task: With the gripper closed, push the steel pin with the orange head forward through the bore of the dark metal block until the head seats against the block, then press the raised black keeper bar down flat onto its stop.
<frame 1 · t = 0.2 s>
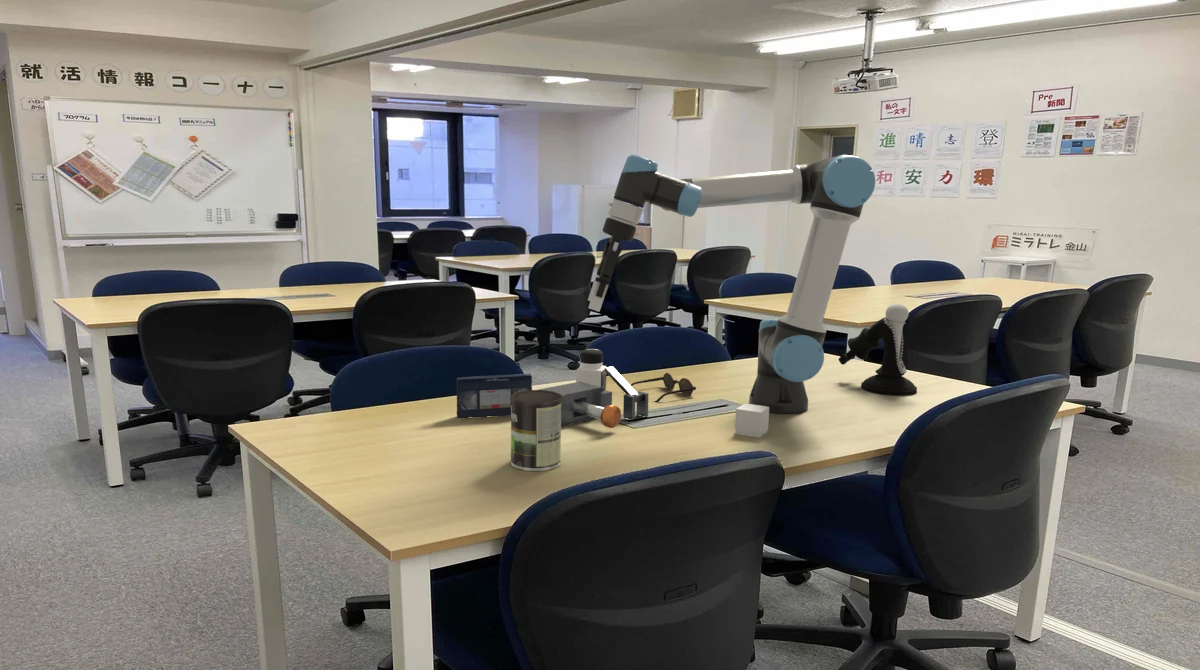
hand: (593, 305, 196), 28 cm above the table, tool tilted 20°, fingers open, 13 cm apart
pin: (593, 411, 192), point 4 cm above the table, slide at 0.0 cm
keeper: (623, 384, 203), point 8 cm above the table, hinge at -30.0°
hitch block: (568, 418, 199), on the table
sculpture: (874, 387, 238), on the table
eyeglasses: (657, 396, 225), on the table
white cube: (751, 433, 190), on the table
vhs cassette tape: (494, 416, 201), on the table
coffee can: (536, 464, 166), on the table
medicine bottle: (591, 393, 225), on the table
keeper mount: (635, 417, 201), on the table
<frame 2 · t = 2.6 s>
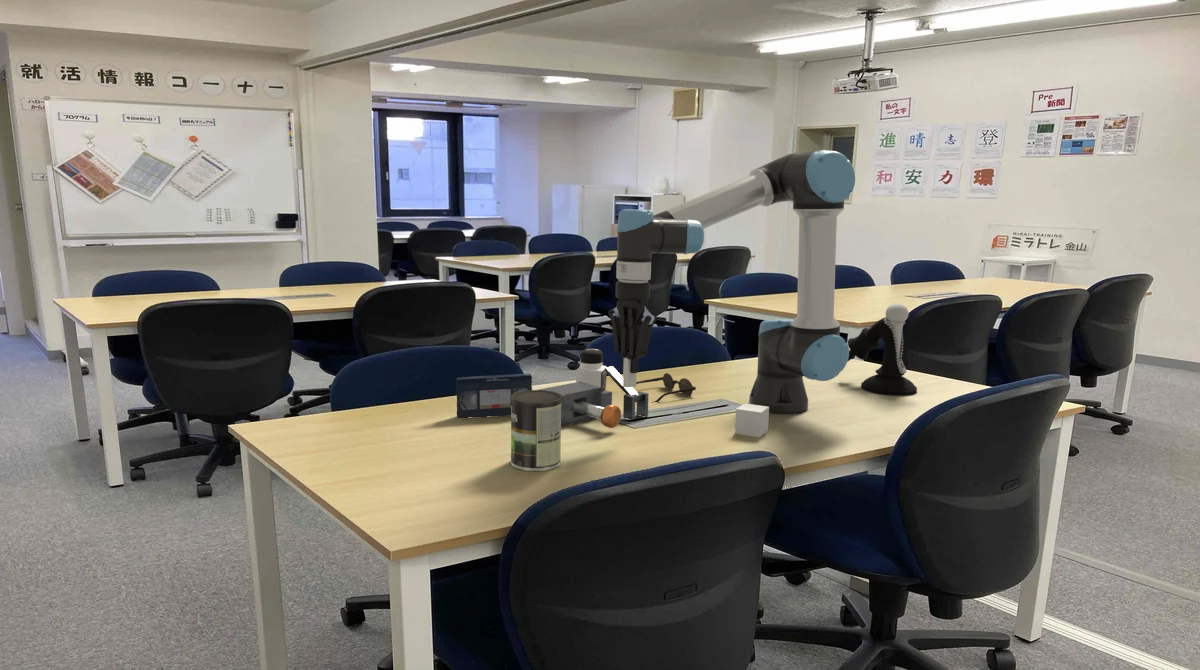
hand: (629, 386, 182), 12 cm above the table, tool pointing down, fingers closed
nothing on the table moved.
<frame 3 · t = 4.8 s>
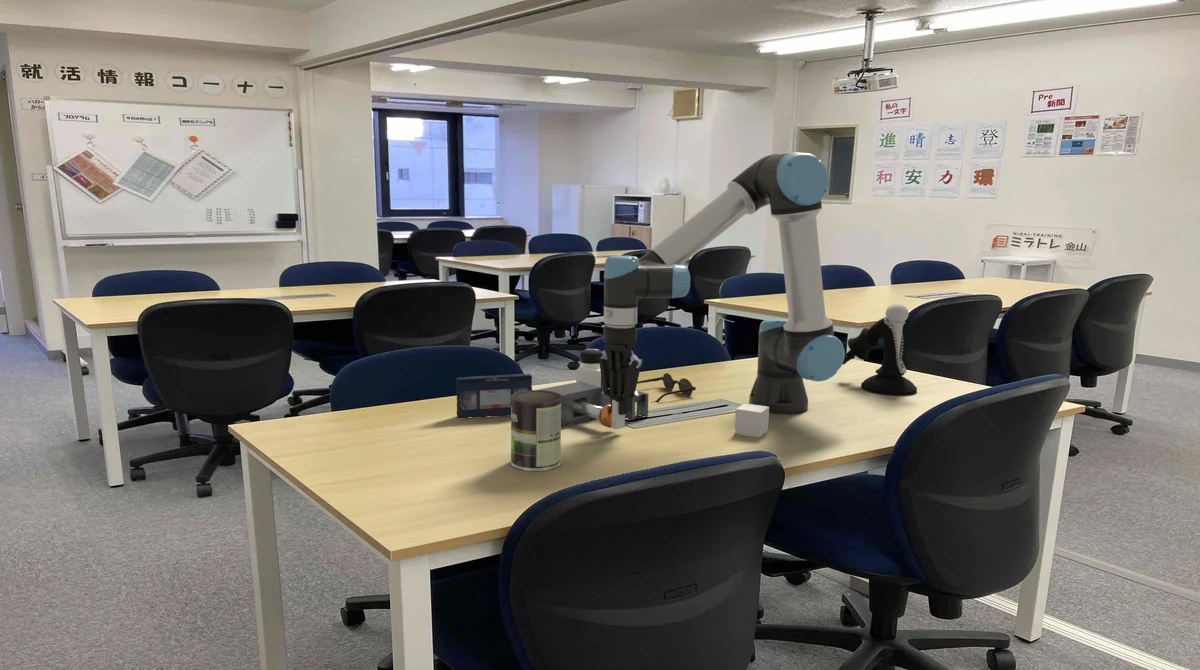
hand: (618, 427, 186), 2 cm above the table, tool pointing down, fingers closed
pin: (591, 410, 193), point 4 cm above the table, slide at 0.5 cm, touching gripper
everything else where it was.
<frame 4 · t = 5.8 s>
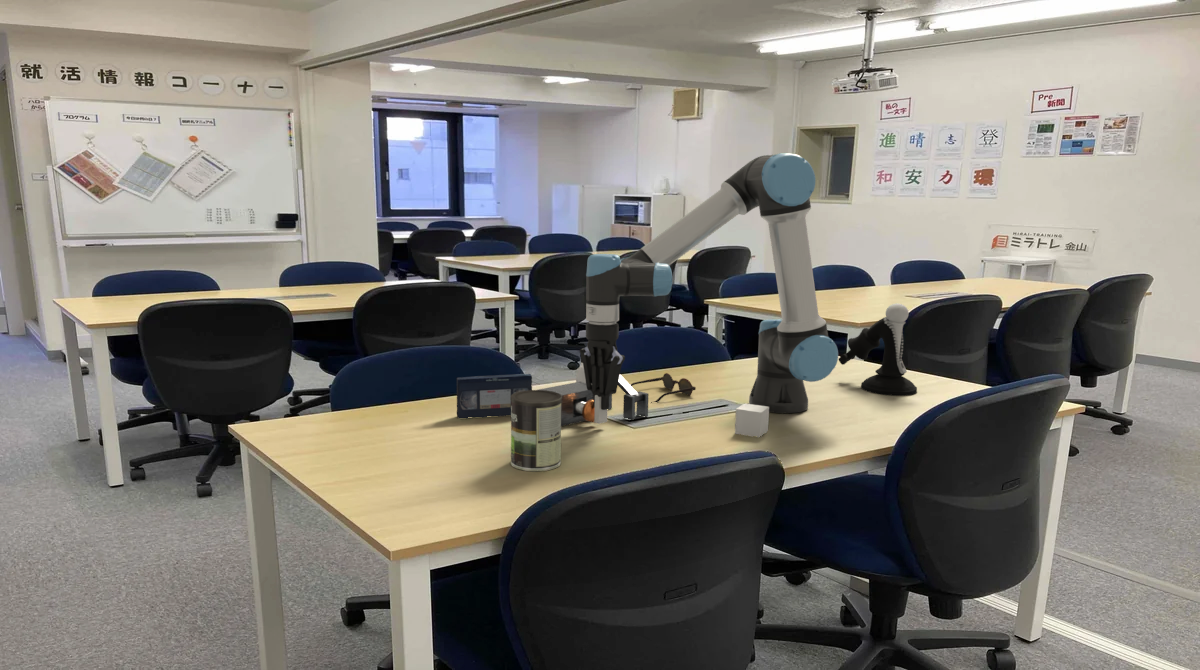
hand: (600, 421, 191), 2 cm above the table, tool pointing down, fingers closed
pin: (575, 405, 197), point 4 cm above the table, slide at 6.3 cm, touching gripper
everything else where it was.
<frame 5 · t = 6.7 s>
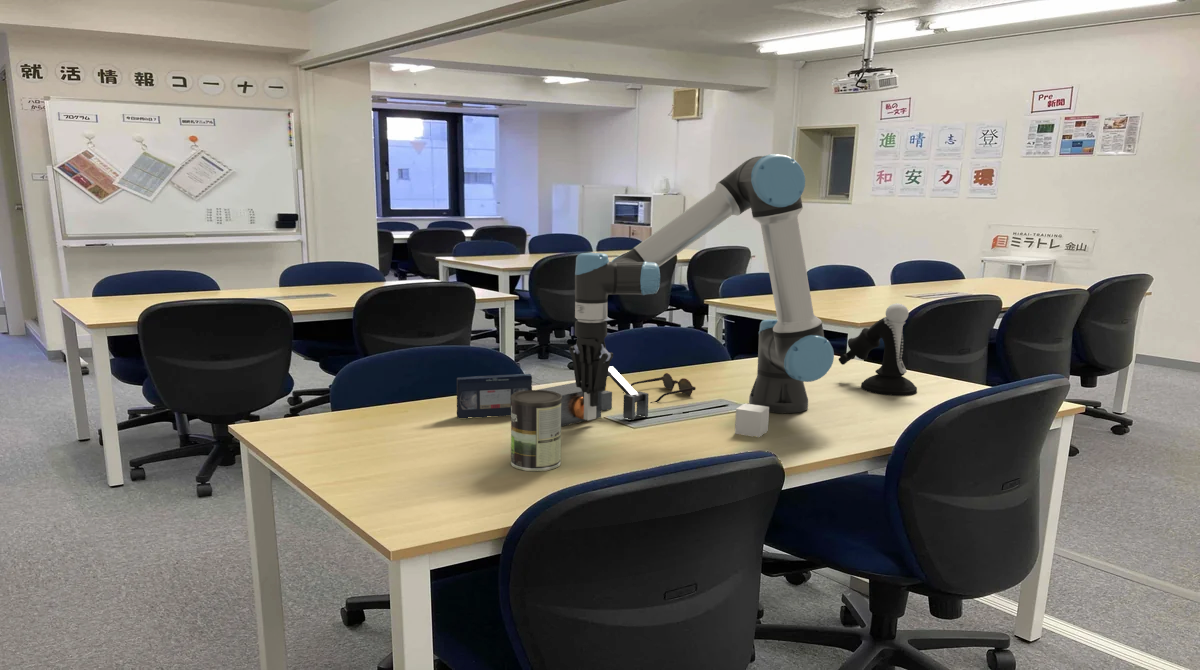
hand: (590, 418, 193), 2 cm above the table, tool pointing down, fingers closed
pin: (565, 402, 199), point 4 cm above the table, slide at 10.0 cm, touching gripper, hitch block
everything else where it was.
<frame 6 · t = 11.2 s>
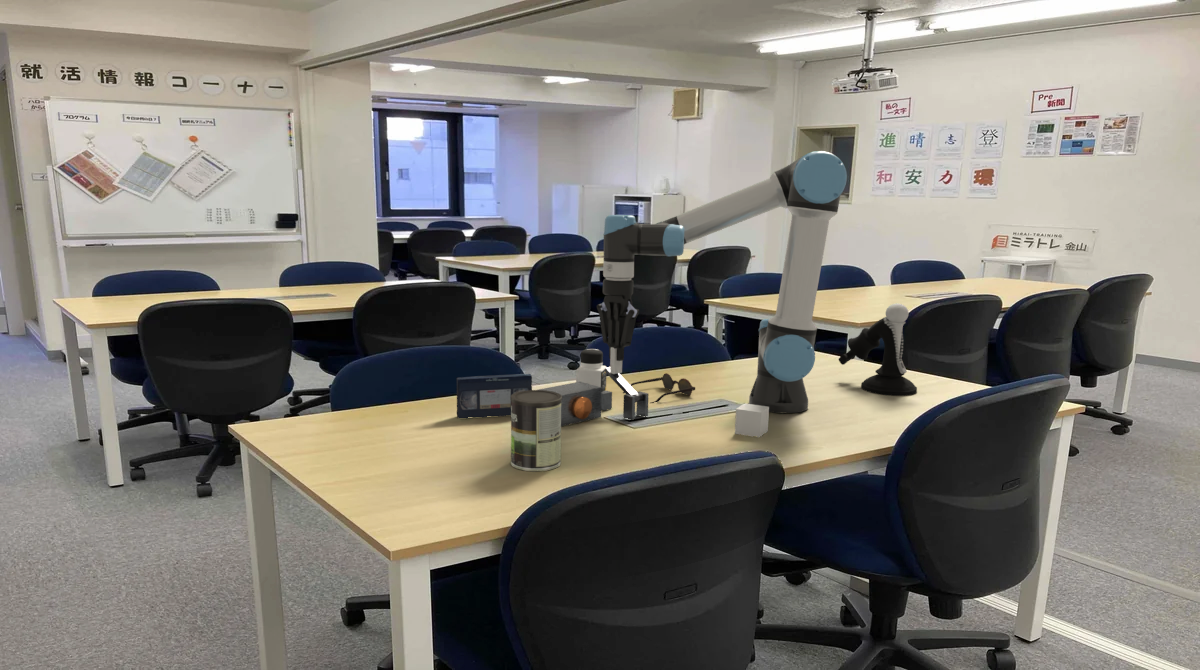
hand: (616, 372, 204), 10 cm above the table, tool pointing down, fingers closed
pin: (565, 402, 199), point 4 cm above the table, slide at 10.0 cm, touching hitch block
keeper: (623, 384, 203), point 8 cm above the table, hinge at -29.7°, touching gripper
everything else where it was.
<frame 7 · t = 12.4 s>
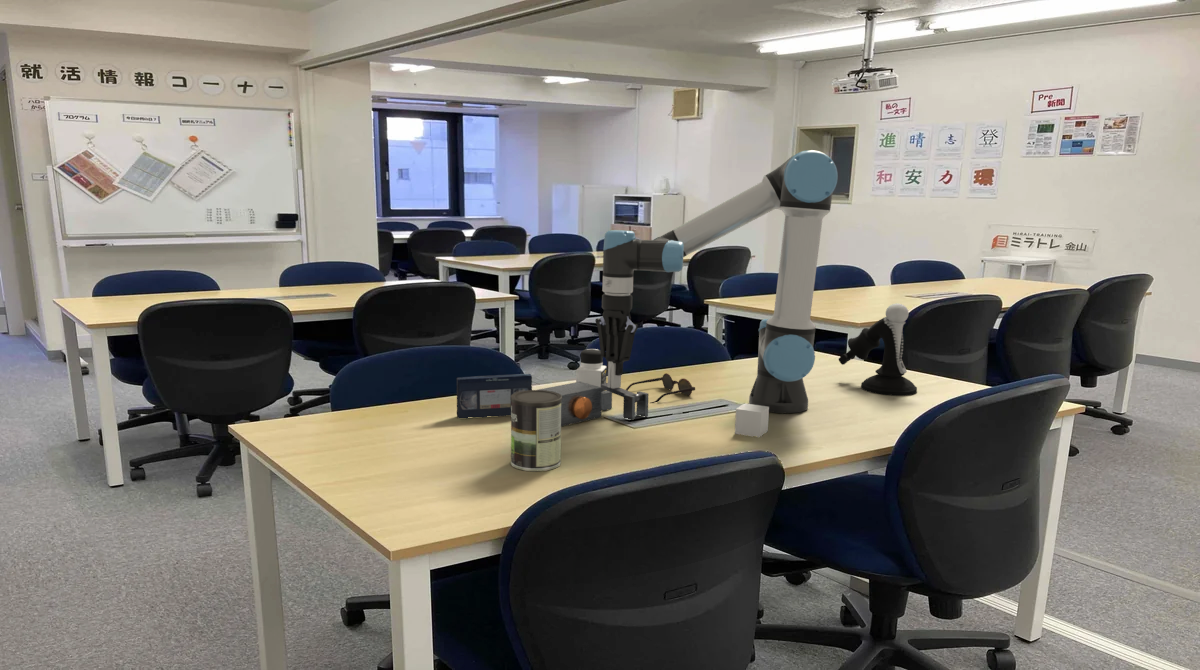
hand: (614, 386, 205), 6 cm above the table, tool pointing down, fingers closed, pressing on keeper
keeper: (621, 392, 204), point 5 cm above the table, hinge at -5.4°, touching gripper
everything else where it was.
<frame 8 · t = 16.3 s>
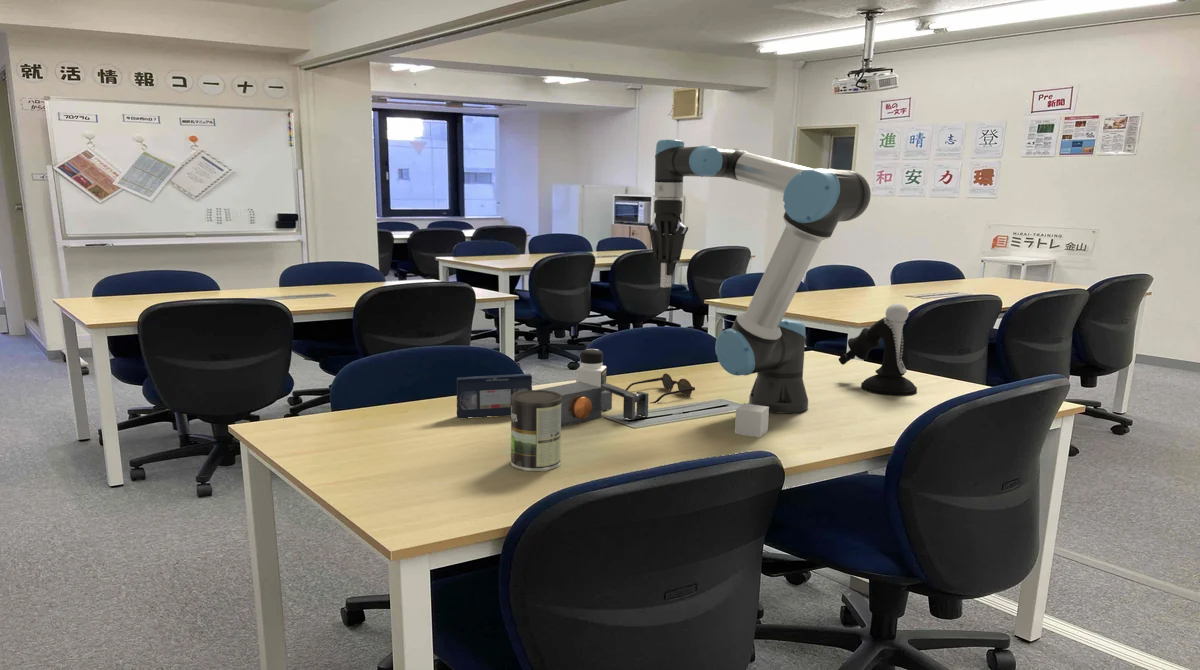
hand: (665, 286, 223), 29 cm above the table, tool pointing down, fingers closed
keeper: (621, 392, 204), point 5 cm above the table, hinge at -4.8°
everything else where it was.
at the end: pin slide at 10.0 cm; keeper at -5° (first picture: -30°) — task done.
